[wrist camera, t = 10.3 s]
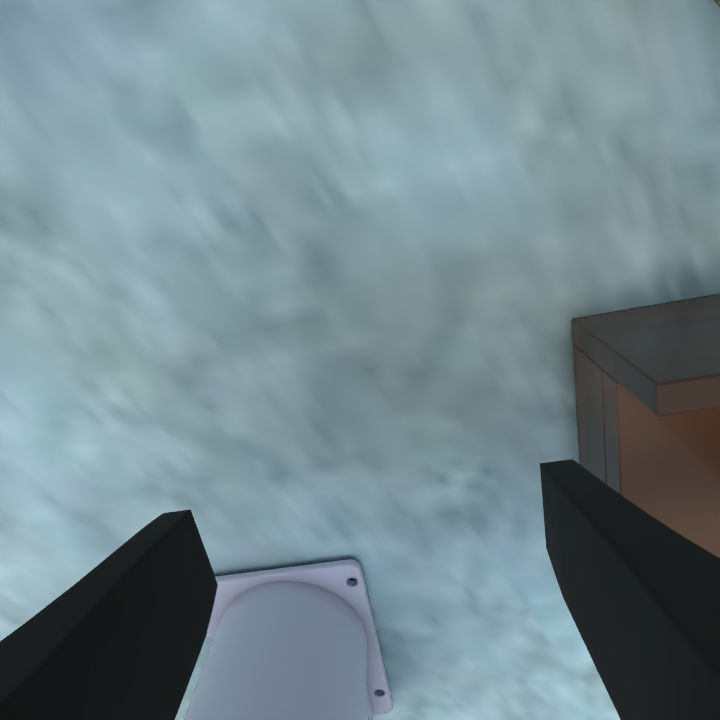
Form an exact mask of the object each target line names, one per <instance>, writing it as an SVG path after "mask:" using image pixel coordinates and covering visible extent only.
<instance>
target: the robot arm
mask: <svg viewBox="0 0 720 720" xmlns="http://www.w3.org/2000/svg"><path fill="white" fill-rule="evenodd" d="M540 470H541V483H542V496H543V509H544V522H545V535H546V548H547V551H548V554H549V557H550V560H551V563H552V566H553V569H554V572H555V575H556V578H557V581H558V584H559V587H560V589H561V592H562V595H563V598H564V600H565V602H566V604H567V606H568V609H569V611H570V613H571V615H572V617H573V619H574V621H575V624H576V626H577V628H578V630H579V632H580V634H581V636H582V639H583V641H584V643H585V645H586V647H587V649H588V651H589V653H590V655H591V658H592V660H593V662H594V664H595V666H596V668H597V670H598V672H599V674H600V677H601V679H602V681H603V683H604V685H605V687H606V689H607V691H608V693H609V696H610V698H611V700H612V702H613V704H614V706H615V708H616V710H617V713H618V715H619V717H620V719H621V720H720V558H719V557H717V556H715V555H713V554H712V553H710V552H708V551H707V550H705V549H703V548H702V547H700V546H698V545H697V544H695V543H693V542H692V541H690V540H689V539H687V538H685V537H684V536H682V535H680V534H679V533H677V532H675V531H674V530H672V529H671V528H669V527H668V526H666V525H665V524H663V523H661V522H660V521H658V520H657V519H655V518H654V517H652V516H651V515H649V514H648V513H646V512H645V511H644V510H642V509H641V508H639V507H638V506H636V505H635V504H633V503H632V502H630V501H629V500H628V499H626V498H625V497H623V496H622V495H621V494H619V493H618V492H616V491H615V490H614V489H612V488H611V487H610V486H608V485H607V484H605V483H604V482H603V481H601V480H600V479H599V478H597V477H596V476H595V475H593V474H592V473H590V472H589V471H588V470H586V469H585V468H584V467H582V466H581V465H580V464H578V463H577V462H575V461H574V460H573V459H571V460H563V461H556V462H548V463H540ZM349 578H355V579H356V580H354V581H351V580H349ZM207 632H208V635H209V638H210V640H211V643H212V644H211V647H210V649H209V652H208V655H207V658H206V660H205V663H204V666H203V669H202V671H201V674H200V677H199V680H198V682H197V685H196V688H195V691H194V693H193V696H192V699H191V701H190V704H189V707H188V710H187V712H186V715H185V718H184V720H373V715H376V714H385V713H388V712H390V711H391V710H392V708H393V701H392V696H391V691H390V687H389V683H388V679H387V674H386V670H385V666H384V662H383V658H382V653H381V649H380V645H379V641H378V636H377V632H376V628H375V624H374V620H373V615H372V611H371V607H370V603H369V598H368V594H367V590H366V586H365V582H364V577H363V573H362V569H361V566H360V564H359V563H358V562H357V561H355V560H349V559H348V560H340V561H332V562H325V563H317V564H309V565H301V566H294V567H286V568H278V569H270V570H262V571H255V572H247V573H239V574H231V575H223V576H216V577H215V576H214V573H213V570H212V567H211V565H210V562H209V559H208V556H207V554H206V551H205V548H204V545H203V543H202V540H201V537H200V534H199V532H198V529H197V526H196V523H195V521H194V518H193V515H192V512H191V510H185V511H177V512H170V513H163V514H162V515H160V516H159V517H157V518H156V519H155V520H153V521H152V522H151V523H149V524H148V525H147V526H145V527H144V528H143V529H142V530H140V531H139V532H138V533H137V534H135V535H134V536H133V537H132V538H130V539H129V540H128V541H127V542H126V543H124V544H123V545H122V546H121V547H120V548H118V549H117V550H116V551H115V552H114V553H112V554H111V555H110V556H109V557H107V558H106V559H105V560H104V561H103V562H101V563H100V564H99V565H98V566H97V567H95V568H94V569H93V570H92V571H91V572H89V573H88V574H87V575H86V576H84V577H83V578H82V579H81V580H80V581H78V582H77V583H76V584H75V585H74V586H72V587H71V588H70V589H68V590H67V591H66V592H65V593H63V594H62V595H61V596H59V597H58V598H57V599H56V600H54V601H53V602H52V603H50V604H49V605H48V606H47V607H45V608H44V609H43V610H41V611H40V612H39V613H38V614H36V615H35V616H34V617H32V618H31V619H30V620H29V621H27V622H26V623H25V624H23V625H22V626H21V627H19V628H18V629H17V630H15V631H14V632H13V633H11V634H10V635H9V636H7V637H6V638H4V639H3V640H2V641H0V720H175V717H176V715H177V712H178V709H179V707H180V704H181V701H182V699H183V696H184V694H185V691H186V688H187V686H188V683H189V680H190V678H191V675H192V672H193V670H194V667H195V664H196V662H197V659H198V656H199V653H200V651H201V648H202V645H203V642H204V640H205V637H206V634H207Z"/></svg>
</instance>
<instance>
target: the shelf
mask: <svg viewBox="0 0 720 720" xmlns="http://www.w3.org/2000/svg"><path fill="white" fill-rule="evenodd" d="M572 335H573V343H574V345H573V351H574V368H575V385H576V402H577V419H578V436H579V453H580V465H581V466H582V467H584V468H585V469H586V470H588V471H589V472H590V473H592V474H593V475H595V476H596V477H597V478H599V479H600V480H601V481H603V482H604V483H605V484H607V485H608V486H610V487H611V488H612V489H614V490H615V491H616V492H618V493H619V494H621V495H622V496H623V497H625V498H626V499H628V500H629V501H630V502H632V503H633V504H635V505H636V506H638V507H639V508H641V509H642V510H644V511H645V512H646V513H648V514H649V515H651V516H652V517H654V518H655V519H657V520H658V521H660V522H661V523H663V524H665V525H666V526H668V527H669V528H671V529H672V530H674V531H675V532H677V533H679V534H680V535H682V536H684V537H685V538H687V539H689V540H690V541H692V542H693V543H695V544H697V545H698V546H700V547H702V548H703V549H705V550H707V551H708V552H710V553H712V554H713V555H715V556H717V557H719V558H720V294H718V295H712V296H706V297H700V298H694V299H688V300H682V301H676V302H671V303H665V304H659V305H653V306H647V307H641V308H635V309H629V310H623V311H617V312H611V313H606V314H600V315H594V316H588V317H582V318H576V319H572Z"/></svg>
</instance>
